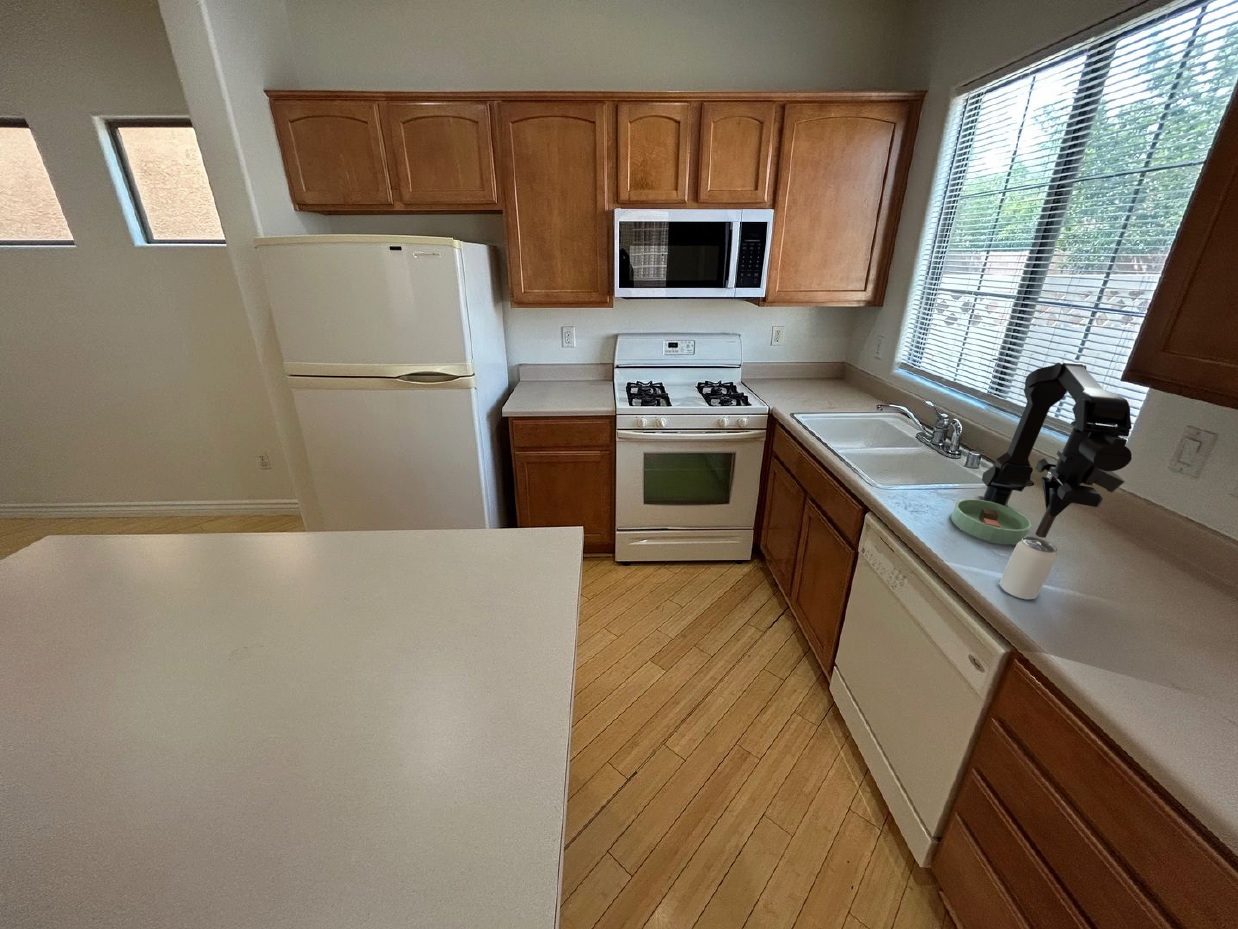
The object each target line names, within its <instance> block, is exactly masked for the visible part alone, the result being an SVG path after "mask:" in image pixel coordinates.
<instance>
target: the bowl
mask: <svg viewBox="0 0 1238 929" xmlns="http://www.w3.org/2000/svg"><path fill="white" fill-rule="evenodd" d="M983 508H985V509H990V510H995V511H996V512H997V513H998V515H999V516H998V519H997V521H998V523H999V525H1000V528H999V527H994V526H991V525H988V524H984V523H982V522H981V521H980V519H979V516H980V514H981V511H982V509H983ZM950 519H951V521H952V523H953V524H954V525H955V526H956V527H958V529H960V530H961V531H963V532H965V533H967V534H970V535H971V536H974V537H977V538H979V539H982V540H985V541H988V542H992V543H997V544H1002V545H1017V543H1019V542H1020V541H1021V540H1022V538H1023V537H1029V534H1030V532H1031V529H1032V528H1033V522H1032V521H1031V520H1030V519H1029V518H1028V517H1027V516H1026V515H1025V514H1023V513H1021V512H1019V511H1018V510H1016V509H1013V508H1011V507H1009V506H1008V507H1006V506H1004V505H1001V504H997V503H994V502H990V501H985V500H980V499H978V498H964V499H960V500H957V502H956V503H955V506H954V509H953V511H952V514H951V516H950Z"/></svg>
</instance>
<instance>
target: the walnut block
mask: <svg viewBox="0 0 1238 929" xmlns="http://www.w3.org/2000/svg"><path fill="white" fill-rule="evenodd" d="M998 516H999V515H998V513H997V512H996V511H995V510H990V509H985V508H983V509H982V511H981V514H980V516H979V519H980V521H981V522H983V519H984V518H985V519H990V520H995V521H997V519H998Z"/></svg>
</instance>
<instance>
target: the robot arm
mask: <svg viewBox="0 0 1238 929" xmlns="http://www.w3.org/2000/svg"><path fill="white" fill-rule="evenodd" d="M1023 393H1024V396H1025V399H1026V404H1025V406H1024V410H1023V412H1022V414H1021V417H1020V418H1019V422H1018V424H1017V426H1016V429H1015V432H1014V434H1013V436H1012V439H1011V441H1010V444H1009V446H1008V449H1007V451H1006V452H1004V453H1003V454H1002V455H1001V456H999V457H998V458H996V459H995V462H994V463H993V465H992V466H991V467H989V468H988V469H987V470H985V471H984V472H983V473H982V477H981V481H982V482H983V483H984V485H985V487H986V489H985V492H984V495H983V496H981V495H978V498H979V500H985V501H990V502H994V503H997V504H1001V505H1004V506H1006V507H1009V505H1008V503H1009V501H1010V498H1011V496H1012V493H1013V491H1016V492H1017V491H1018V492H1023V491H1024V489H1025V488H1026V487H1027V485H1028V484H1029V483H1030V481H1031V479H1032V477H1031V476H1032V473H1033V471H1034V469H1035V470H1036V471H1037V472H1038V473H1043V472H1045V471H1046V472H1047V473H1046V476H1041V478H1040V479H1041V484H1042V490H1043V497H1044V503H1045V511H1046V510H1047V508H1048V506H1049V511H1050V516H1054V517H1058V516H1059V514H1061V513H1062V512H1063V511H1064V510H1065V509H1067V508H1068V507H1070V505H1071V504H1077V505H1081V506H1089V507H1093V508H1099V507H1100V505H1101V503H1102V501H1103V500H1104V498H1103V497H1102V496H1101V494H1100V493H1099V492H1098V491H1097V490H1096V489H1095V488H1094V487H1093V485H1097V486H1099V487H1101V488H1103V489H1105V490H1106V491H1107V492H1108V493H1111V494H1112V493H1114V492H1115V491H1116V490H1118V489H1119V488H1120V487H1121V486H1122V485H1123V484H1124V483H1125V482H1126V481H1125V480H1124V479H1123V478H1122V477H1121V476H1120V475H1118V474H1117V473H1115V471H1119V470H1122V469H1125V467H1126V466H1128V465H1129V464H1130V462H1131V461H1132V450H1130V448H1129V447H1128V446H1126V444H1127V443H1128V439H1126V438H1125V437H1128V438H1129V436H1130V430H1132V420H1131V406H1130V403H1129V401H1128V400H1127V399H1126V398H1125V397H1123V396H1121V395H1119V394H1117V393H1116V392H1115V393H1114V392H1111V391H1108V390H1106V389H1104V388H1103V387H1102V385H1101V384H1099V382H1098V381H1097V380H1096V379H1095V377H1093V375H1092V374H1091V373H1090V372H1089V371H1088V369H1087V365H1086V364H1084V363H1083V362H1073V361H1061V362H1056V363H1054V364H1052V365H1049V366H1044V367H1040V368H1037V369H1035V370H1033V371H1031V372H1030V373H1029V374H1028V375H1027V376H1026V377H1025V380H1024V389H1023ZM1067 393H1068V394H1069V396H1070V397H1071V398H1072V400H1073V401H1074V402H1075V404H1074V405H1073V407H1072V408H1071V411H1072V412H1073V415H1074V420H1073V421H1071V422H1070V425H1071V426H1072V427H1073V428H1072V430H1071V432H1070V433H1069V436H1068V438H1067V440H1066V443H1065V444H1064V447H1063V449H1062V450H1060V449H1058V450H1057V453H1056V456H1058V457H1059V458H1058V459H1057V460H1056V459H1050V458H1043V459H1040V460H1038V461H1037V462H1036V466H1035V467H1034V469H1033V467H1032V466H1031V463H1030V460H1029V458H1030V456H1031V453H1032V451H1033V449H1034V446H1035V445H1036V442H1037V439H1038V436H1039V435H1040V432H1041V430H1042V427H1043V425H1044V422H1046V419H1047V417H1048V414H1049V411H1050V409H1051V408H1052V407H1053V406H1054V405H1056V404H1057V403H1059V402H1060V401H1061V400H1063V399H1064V397H1065V395H1066V394H1067ZM1083 484H1084V485H1083ZM1049 504H1050V505H1049Z"/></svg>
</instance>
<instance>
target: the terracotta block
mask: <svg viewBox="0 0 1238 929" xmlns="http://www.w3.org/2000/svg"><path fill="white" fill-rule="evenodd" d="M982 523H984V524H988V525H991V526H994V527H999V528H1000V525H999V523H998V521H995V520H990V519H985V518H984V519H983V522H982Z"/></svg>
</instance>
